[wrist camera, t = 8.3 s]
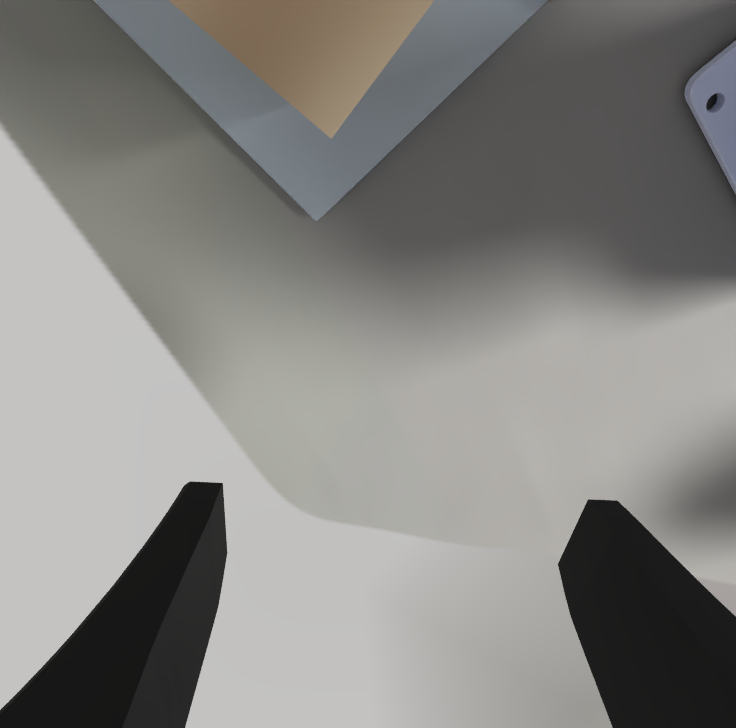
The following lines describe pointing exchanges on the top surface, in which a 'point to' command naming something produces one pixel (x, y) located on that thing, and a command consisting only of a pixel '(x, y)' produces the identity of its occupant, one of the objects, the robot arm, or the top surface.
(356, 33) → the oak block
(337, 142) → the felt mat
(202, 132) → the top surface
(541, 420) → the top surface
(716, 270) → the top surface
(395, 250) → the top surface
